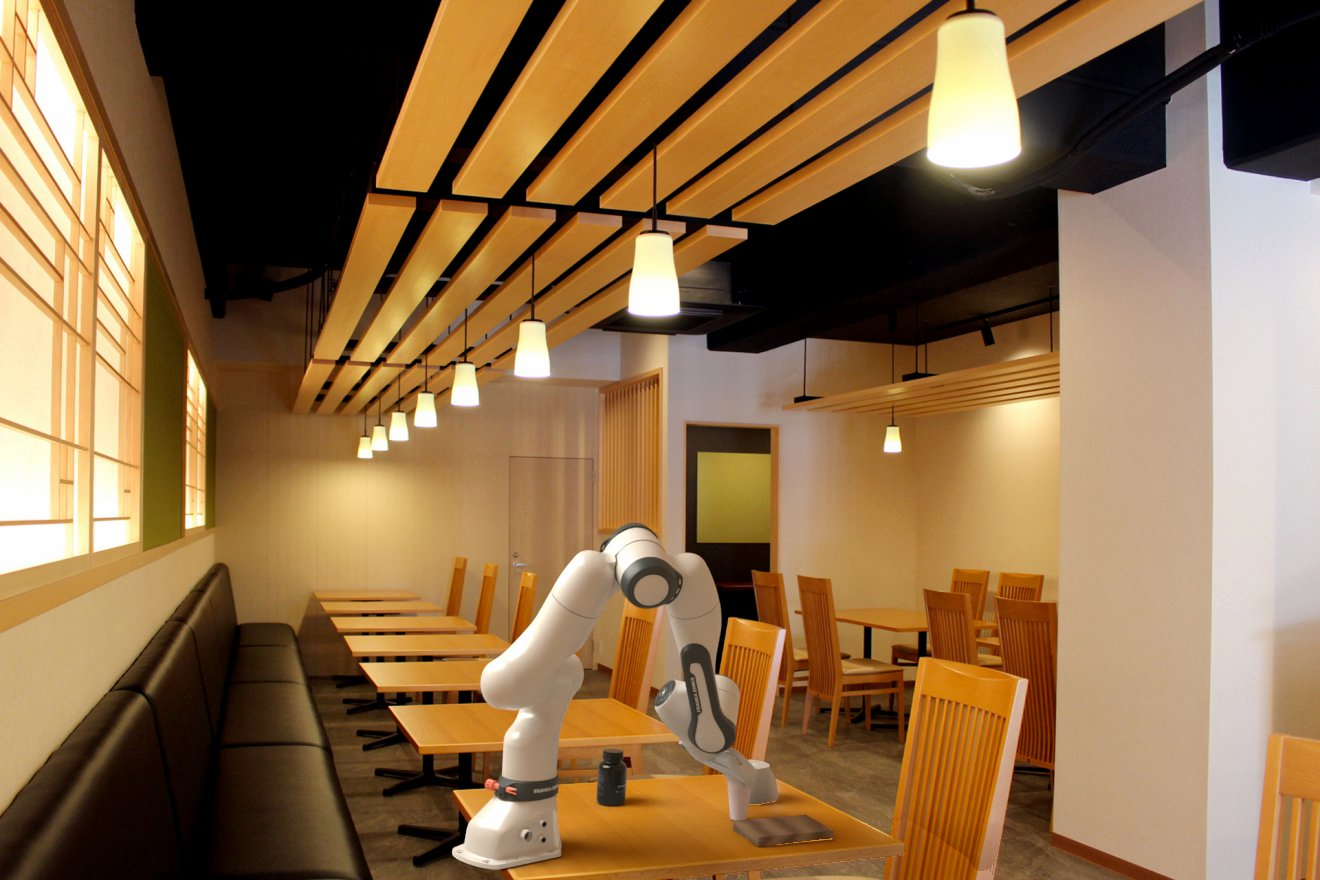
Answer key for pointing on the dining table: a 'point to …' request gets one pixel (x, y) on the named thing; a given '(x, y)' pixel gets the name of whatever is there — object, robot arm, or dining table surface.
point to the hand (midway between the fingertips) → (741, 782)
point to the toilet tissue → (763, 784)
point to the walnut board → (782, 830)
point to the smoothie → (738, 798)
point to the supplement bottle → (611, 778)
